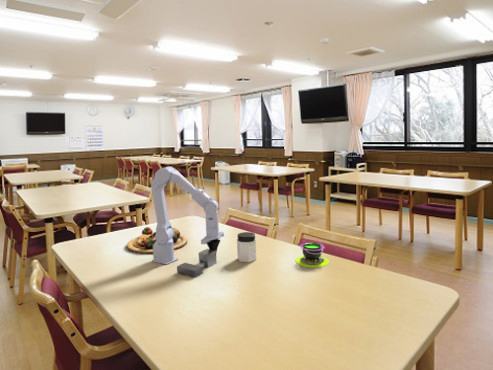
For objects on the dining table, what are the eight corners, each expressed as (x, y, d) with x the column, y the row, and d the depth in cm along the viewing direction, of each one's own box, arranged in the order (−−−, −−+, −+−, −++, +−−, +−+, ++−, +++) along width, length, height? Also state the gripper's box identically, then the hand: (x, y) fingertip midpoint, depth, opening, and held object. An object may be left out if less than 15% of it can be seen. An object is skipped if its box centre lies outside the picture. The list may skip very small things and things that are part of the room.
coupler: (177, 273, 148) (176, 266, 147) (197, 263, 159) (197, 256, 159) (195, 277, 142) (194, 270, 142) (215, 267, 154) (215, 260, 153)
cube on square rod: (199, 265, 156) (198, 252, 155) (207, 261, 161) (207, 248, 160) (208, 267, 153) (207, 254, 152) (216, 263, 158) (216, 250, 157)
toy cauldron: (314, 270, 147) (314, 245, 146) (288, 261, 159) (288, 238, 157) (335, 261, 157) (336, 238, 155) (309, 253, 168) (309, 231, 167)
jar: (246, 264, 156) (245, 238, 155) (233, 259, 162) (233, 234, 161) (259, 258, 162) (259, 234, 161) (247, 254, 168) (247, 230, 167)
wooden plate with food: (123, 241, 197) (122, 227, 195) (179, 233, 210) (178, 219, 208) (130, 260, 168) (129, 243, 167) (194, 249, 181) (193, 234, 180)
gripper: (209, 231, 150) (210, 261, 152) (228, 223, 162) (229, 251, 164) (196, 229, 154) (198, 258, 156) (216, 222, 166) (217, 249, 168)
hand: (213, 255), depth 160 cm, fingers closed
